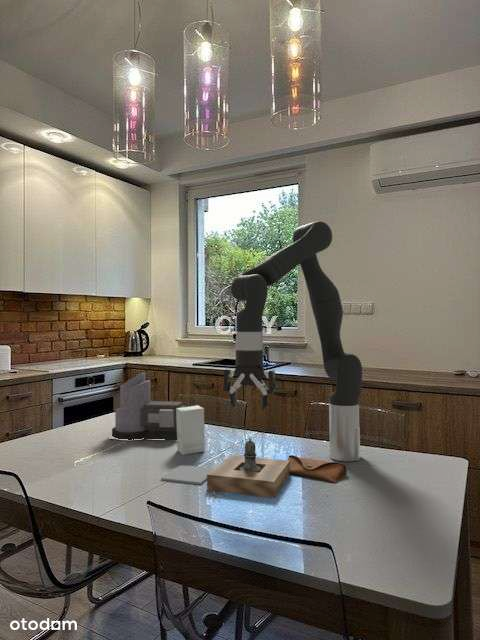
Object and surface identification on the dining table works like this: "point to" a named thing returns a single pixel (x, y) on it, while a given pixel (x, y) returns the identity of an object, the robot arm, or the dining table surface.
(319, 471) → the sunglasses case
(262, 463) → the pocket holder
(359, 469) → the dining table surface
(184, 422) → the skincare box
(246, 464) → the grey stone ornament
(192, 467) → the grey mat
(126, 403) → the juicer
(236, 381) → the robot arm
